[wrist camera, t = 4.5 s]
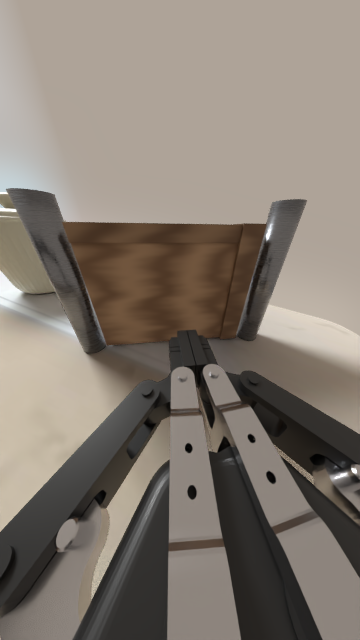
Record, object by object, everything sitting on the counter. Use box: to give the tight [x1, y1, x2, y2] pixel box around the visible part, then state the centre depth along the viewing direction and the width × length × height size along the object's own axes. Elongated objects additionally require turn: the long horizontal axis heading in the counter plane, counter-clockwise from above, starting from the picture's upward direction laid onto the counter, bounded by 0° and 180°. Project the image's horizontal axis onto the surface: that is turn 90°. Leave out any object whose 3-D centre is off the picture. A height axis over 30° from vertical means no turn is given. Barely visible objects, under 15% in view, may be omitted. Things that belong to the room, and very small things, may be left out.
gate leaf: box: [62, 222, 267, 345], centre depth 18 cm, size 19×2×15 cm, turn 97°
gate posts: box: [6, 188, 307, 353], centre depth 18 cm, size 26×3×17 cm, turn 97°
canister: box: [0, 192, 66, 294], centre depth 36 cm, size 18×18×21 cm
